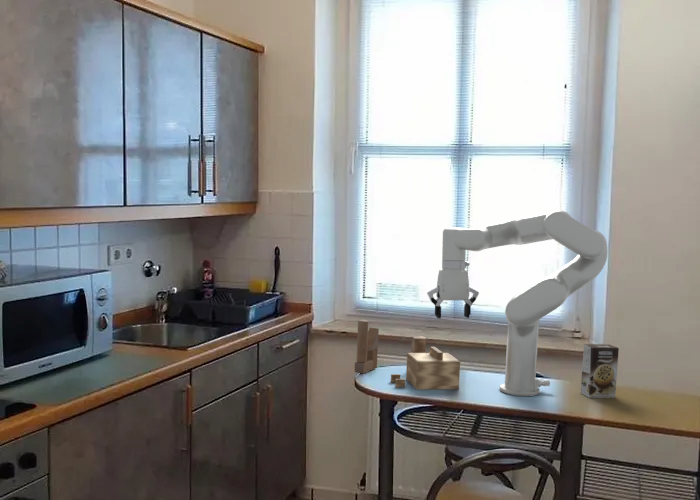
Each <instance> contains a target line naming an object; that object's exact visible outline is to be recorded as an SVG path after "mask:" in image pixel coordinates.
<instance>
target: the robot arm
mask: <svg viewBox="0 0 700 500" xmlns="http://www.w3.org/2000/svg"><path fill="white" fill-rule="evenodd" d="M549 240H550V241H551V240H554V241H556V242H557V243H558V244H559V245H562V246H563V247H565V248H566V249H568V250H570V251H571V252H573V253H575V254H577V255H576V257H575V258H573V260H570V261H569V262H568V263H566V264H565V265H564V266H562V267H561V268H559V269H557V270H556V271H554V272H553V273H551V274H549V275H547V276H544V277H543V278H542V279H540V280H539V281H538V282H536V283H535V284H534V285H532V286H530V287H529V288H528V289H526V290H524V291H522V292H520V293H517V294H515V295H514V296H513V297H512V298H511V299H510V300H508V302H507V304H506V306H505V311H504V314H505V318H506V320H507V321H508V323H507V324H508V325H507V337H506V338H507V340H506V353H505V354H506V355H505V356H506V357H505V372H504V374H505V375H504V383H502V384H500V385H499V390H500V391H501V393H504V394H508V395H512V396H520V397H535V396H538V395H539V394H540V392H541V389H540V388H541V387H542V386H543V387H550V385H551V382H550V379H542V378H537V377H536V375H537V361H538V360H537V358H538V345H539V344H538V343H539V330H540V329H539V327H540V326H539V325H540V320H541V319H542V318H544V317H546V316H547V315H549V314H550V313H552V312H553V311H555V310H556V309H559V307H561V306H562V305H563V304H564V302H566V300H567V298H569V297H570V296H572V295H573V294H574V293H576V292H577V291H580V290H581V289H582V288H584V287H585V286H587V284H589V283H591V282H593V280H594V279H596V278H597V276H599V274H600V273H601V272H602V270H603V269H604V267H605V265H606V263H607V259H608V243H607V238H606V237H605V235H604V234H603V233H602V232H600V231H598V230H594V229H592V228H590V227H588V226H587V225H585V224H583V223H581V222H580V221H578V220H577V219H575V218H574V217H572V216H571V215H570V214H569V213H568V212H567V211H565V210H555V211H549V212H543V213H537V214H533V215H528V216H522V217H517V218H514V219H511V220H510V221H509V220H508V221H506V222H500V223H494V224H490V225H484V226H478V227H473V228H462V227H446V228H444V229H443V230H442V249H441V250H442V253H441V255H442V259H441V262H442V263H441V267H442V268H439V271H438V274H437V283H436V287H434V288H432V289H431V290H429V291H427V292H426V293H427V296H428V299H429V301H430V302H431V304H433V305H434V316H435V318H437V319H441V318H442V306H441V304H442V303H443V302H444V301H463V302H464V303H465V304H464V305H463V308H464V310H463V317H464V318H467V319H470V315H471V312H472V311H471V310H472V309H471V307H472V305H473V303H475V302H476V300H477V298H478V296H479V294H480V293H479V291H478V290H475V289H474V288H472V287H470V279H469V273H468V269H466V268H467V267H470V262H469V261H467V260H466V253H467V252H466V251H470V252H480V251H483V250H488V249H491V248H492V249H493V248H497V247H503V246H508V245H509V246H510V245H518V246H521V245H528V244H533V243H538V242H545V241H549ZM470 293H471V294H472V296H471V297H470ZM435 294H436V299H435V297H434V295H435Z"/></svg>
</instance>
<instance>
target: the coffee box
mask: <svg viewBox="0 0 700 500" xmlns="http://www.w3.org/2000/svg"><path fill="white" fill-rule="evenodd" d="M619 350H620V349H619V347H617V346H614V345H611V344H608V343H607V344H604V343H603V344H601V343H599V344H597V343H593V344H592V343H583V356H582V367H581V380H580V393H581V394H582V395H583V396H585V397H587V398H588V399H592V398H593V399H601V398H602V399H605V398H607V399H608V398H609V399H610V398H611V399H614V398H616V391H617V379H618V377H617V376H618V367H619V366H618V364H619V362H618V361H619Z"/></svg>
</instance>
